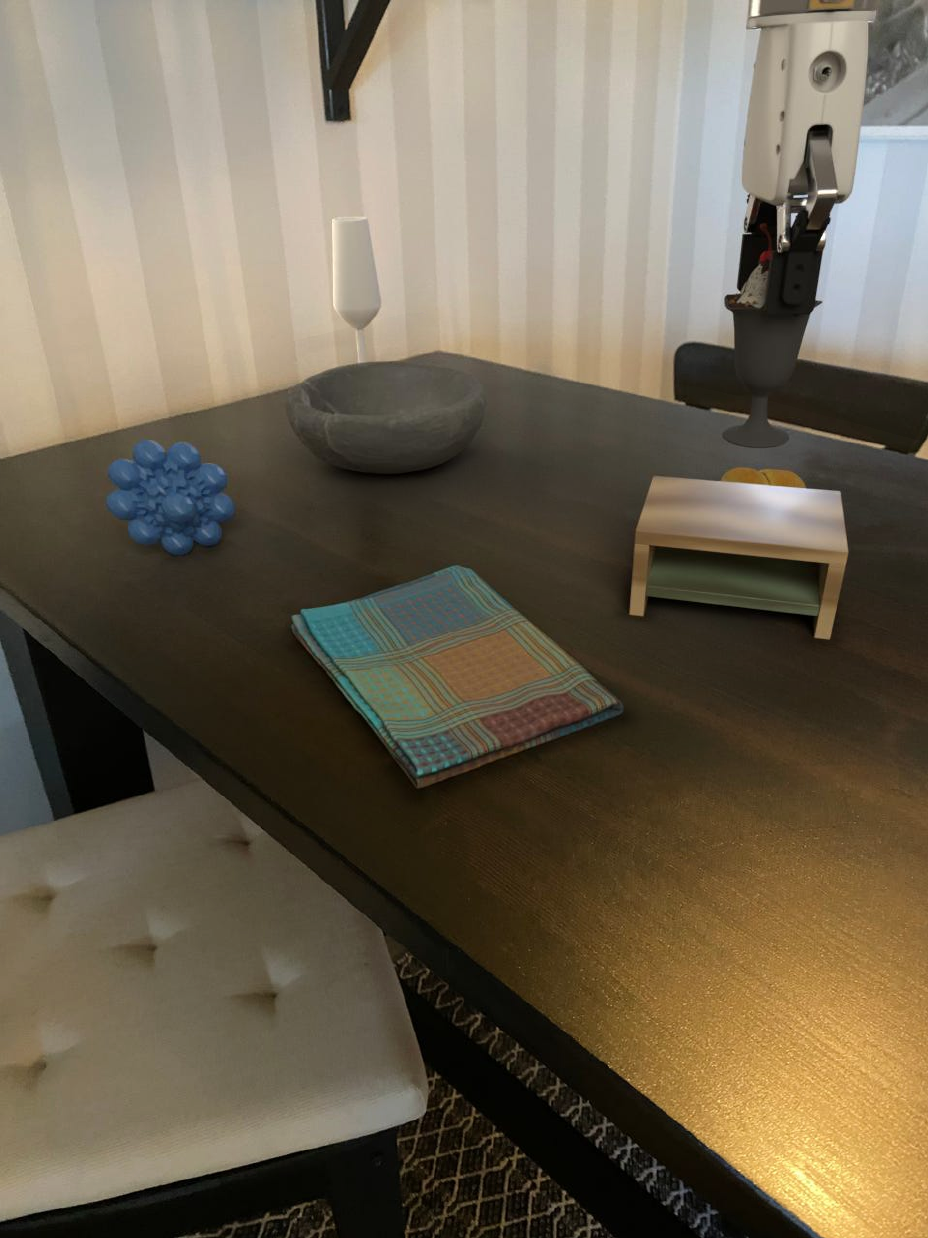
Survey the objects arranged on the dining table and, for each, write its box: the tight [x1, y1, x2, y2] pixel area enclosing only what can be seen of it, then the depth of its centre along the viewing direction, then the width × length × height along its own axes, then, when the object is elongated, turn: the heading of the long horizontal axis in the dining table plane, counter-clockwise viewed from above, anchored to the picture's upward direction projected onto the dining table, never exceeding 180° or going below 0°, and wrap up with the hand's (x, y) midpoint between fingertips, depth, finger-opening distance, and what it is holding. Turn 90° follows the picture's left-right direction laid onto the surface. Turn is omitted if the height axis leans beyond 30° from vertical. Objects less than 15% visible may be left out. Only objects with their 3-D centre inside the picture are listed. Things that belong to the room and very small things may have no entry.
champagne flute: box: [331, 215, 382, 363], centre depth 126 cm, size 7×7×24 cm
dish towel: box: [290, 564, 624, 790], centre depth 69 cm, size 17×23×2 cm
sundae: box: [721, 223, 823, 449], centre depth 65 cm, size 7×7×15 cm
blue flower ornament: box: [106, 439, 236, 556], centre depth 85 cm, size 12×7×12 cm, turn 119°
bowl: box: [285, 360, 487, 475], centre depth 105 cm, size 23×22×10 cm
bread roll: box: [720, 466, 807, 489], centre depth 94 cm, size 8×9×4 cm
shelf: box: [628, 475, 849, 640], centre depth 77 cm, size 12×16×8 cm
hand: (772, 299), depth 64 cm, fingers closed on sundae, 6 cm apart
